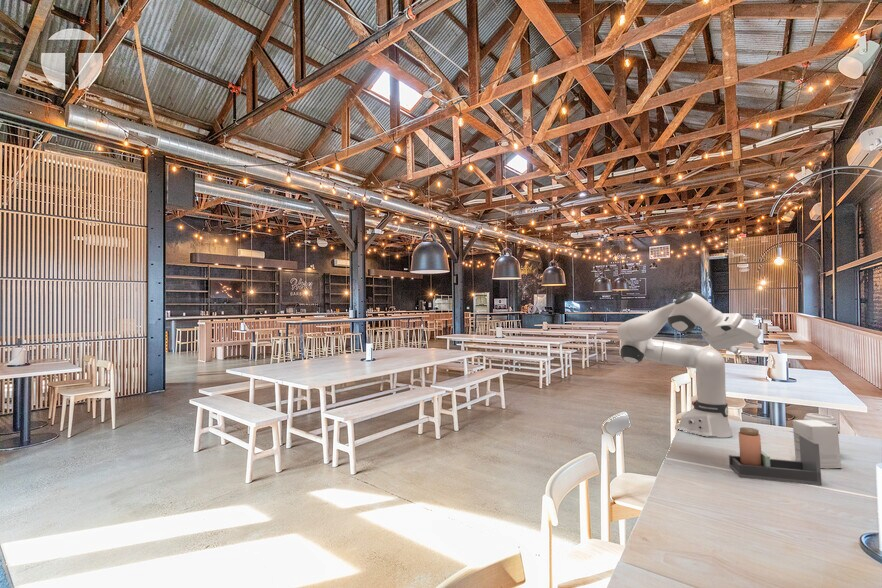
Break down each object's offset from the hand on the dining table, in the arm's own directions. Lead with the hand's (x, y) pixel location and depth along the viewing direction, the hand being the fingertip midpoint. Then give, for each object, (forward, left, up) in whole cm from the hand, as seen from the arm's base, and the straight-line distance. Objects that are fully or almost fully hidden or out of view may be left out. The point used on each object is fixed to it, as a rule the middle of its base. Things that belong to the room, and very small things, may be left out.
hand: (749, 351), depth 146 cm
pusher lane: (+6, -6, -41) cm, 42 cm away
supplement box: (+13, +18, -42) cm, 47 cm away
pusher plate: (+4, -8, -40) cm, 41 cm away
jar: (+1, -10, -40) cm, 42 cm away
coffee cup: (+12, +32, -42) cm, 54 cm away
